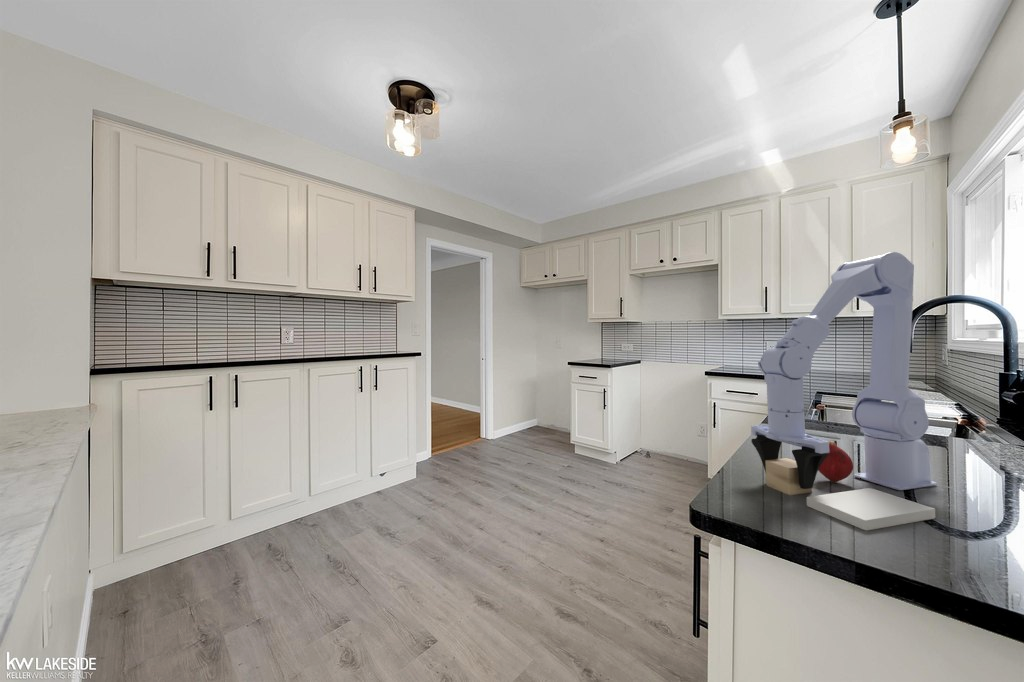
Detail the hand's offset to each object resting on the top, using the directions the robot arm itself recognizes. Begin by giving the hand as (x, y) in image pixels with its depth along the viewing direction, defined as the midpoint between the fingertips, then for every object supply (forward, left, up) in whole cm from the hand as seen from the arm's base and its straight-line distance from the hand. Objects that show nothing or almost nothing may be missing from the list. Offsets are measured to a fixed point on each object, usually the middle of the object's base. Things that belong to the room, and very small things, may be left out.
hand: (788, 481), depth 73 cm
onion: (-11, 0, -2) cm, 11 cm away
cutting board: (-3, +12, -1) cm, 12 cm away
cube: (0, 0, -2) cm, 2 cm away
